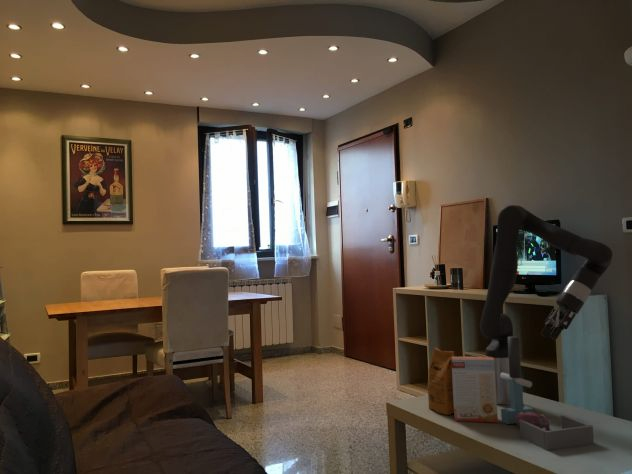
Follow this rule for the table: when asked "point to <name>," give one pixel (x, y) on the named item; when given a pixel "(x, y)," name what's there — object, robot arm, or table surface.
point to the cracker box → (474, 389)
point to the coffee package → (441, 382)
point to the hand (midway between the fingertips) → (547, 337)
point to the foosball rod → (514, 383)
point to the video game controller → (533, 419)
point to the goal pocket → (558, 434)
